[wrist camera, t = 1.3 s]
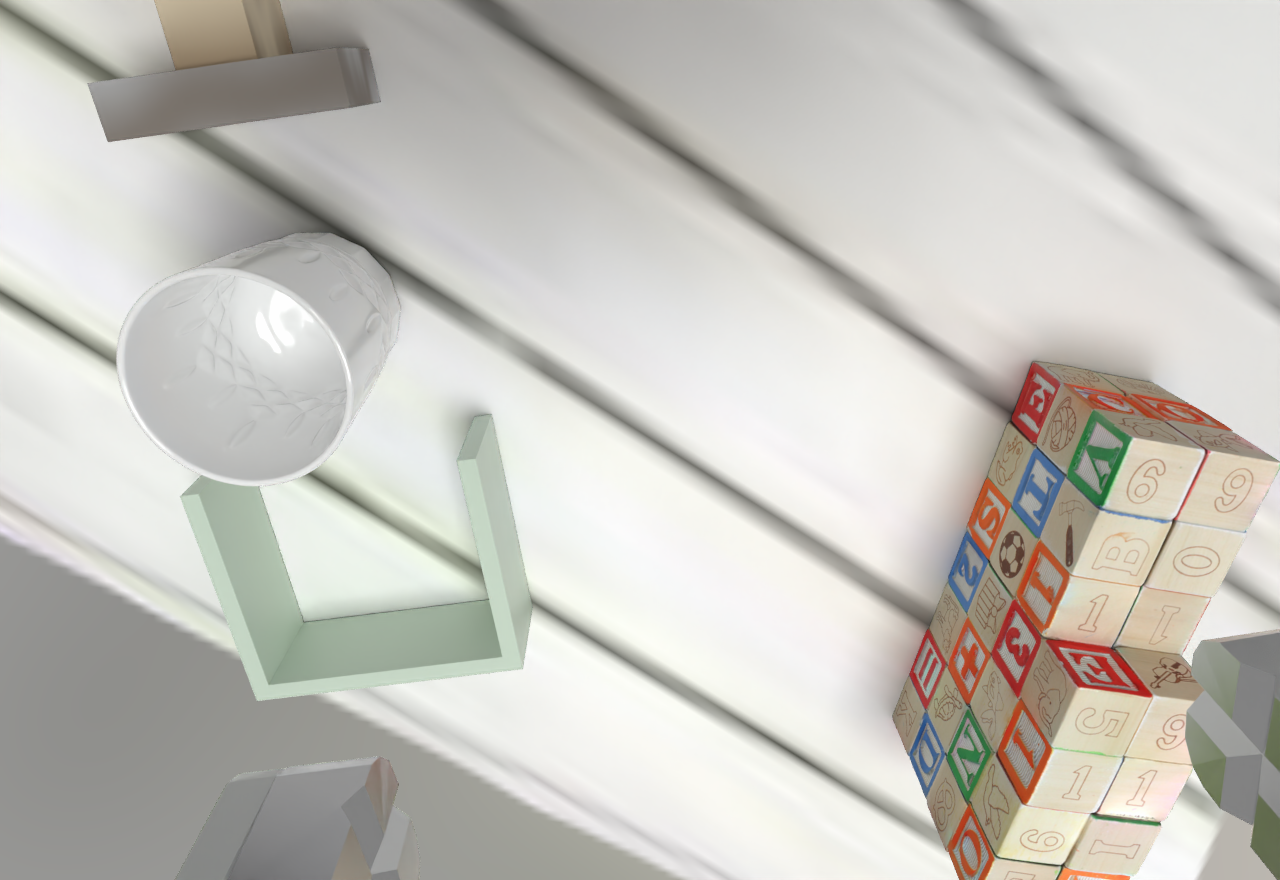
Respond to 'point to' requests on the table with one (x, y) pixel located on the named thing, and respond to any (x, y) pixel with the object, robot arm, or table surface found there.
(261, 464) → the white cup
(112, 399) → the table surface
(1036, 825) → the stack of blocks
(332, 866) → the robot arm
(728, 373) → the table surface
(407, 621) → the box
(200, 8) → the scraper
